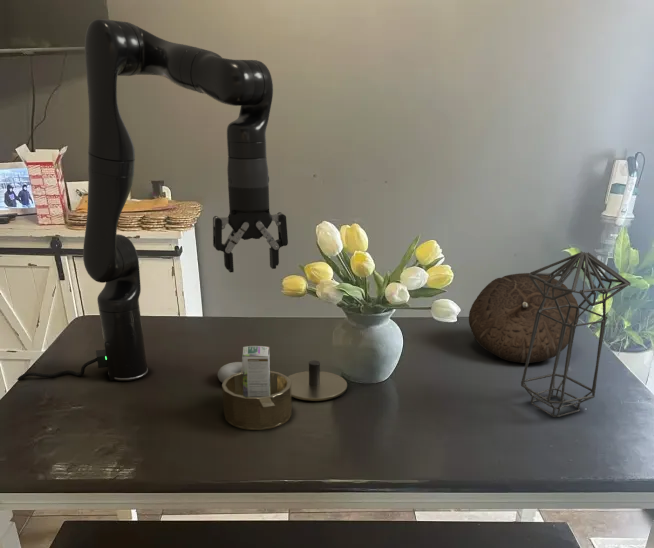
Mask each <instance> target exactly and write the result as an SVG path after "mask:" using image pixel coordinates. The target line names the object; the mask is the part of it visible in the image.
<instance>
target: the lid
mask: <svg viewBox="0 0 654 548" xmlns="http://www.w3.org/2000/svg"><path fill="white" fill-rule="evenodd" d="M287 377H288V378H289V380H290V381H291V396H292V398H295V399H297V400H302V401H310V402H311V401H315V402H319V401H328V400H332V399H335V398H338V397H340V396H342V395H343V394H345V392H346V391H347V389H348V383H347V380H346V379H345V378H344V377H342V376H341V375H338V374H336V373H333V372H329V371H323V370H321V362H320V361H319V360H310V361H309V362H308V370H305V371H300V372H296V373H295V372H294V373H292V374H289V375H288V376H287Z"/></svg>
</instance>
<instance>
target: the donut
mask: <svg viewBox="0 0 654 548" xmlns="http://www.w3.org/2000/svg"><path fill="white" fill-rule="evenodd" d="M241 370H242V361H234V362H229V363H226V364H224V365H222V366H221V367H220V368H219V369H218V371H217V378H218V380H219V382H220V383H222V384H223V382H224V380H225V379H226V378H228V377H229V376H231V375H233V374H236V373H239V372H241Z"/></svg>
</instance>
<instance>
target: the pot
mask: <svg viewBox="0 0 654 548" xmlns="http://www.w3.org/2000/svg"><path fill="white" fill-rule="evenodd" d="M221 392H222V405H223V408H222V409H223V415H224V419H225V421H226V422H227V423H228V424H229V425H231V426H233V427H235V428H238V429H242V430H247V431H264V430H272V429H274V428H278V427H281V426H283V425H284V424H286V423H287V422H288V421H289V420H290V419H291V417H292V411H293V409H292V407H293V406H292V405H293V403H292V402H293V401H292V400H293V399H292V398H293V397H292V396H291V381H290V380H289V378H288V376H287V375H285V374H283V373H281V372H278V371H273V370H270V395H269V396H262V397H246V396H243V371H242V370H241V372H239V373H236V374H233V375H231V376H229V377H228V378H226V379H225V380H224V382H223V383H222V384H221Z"/></svg>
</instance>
